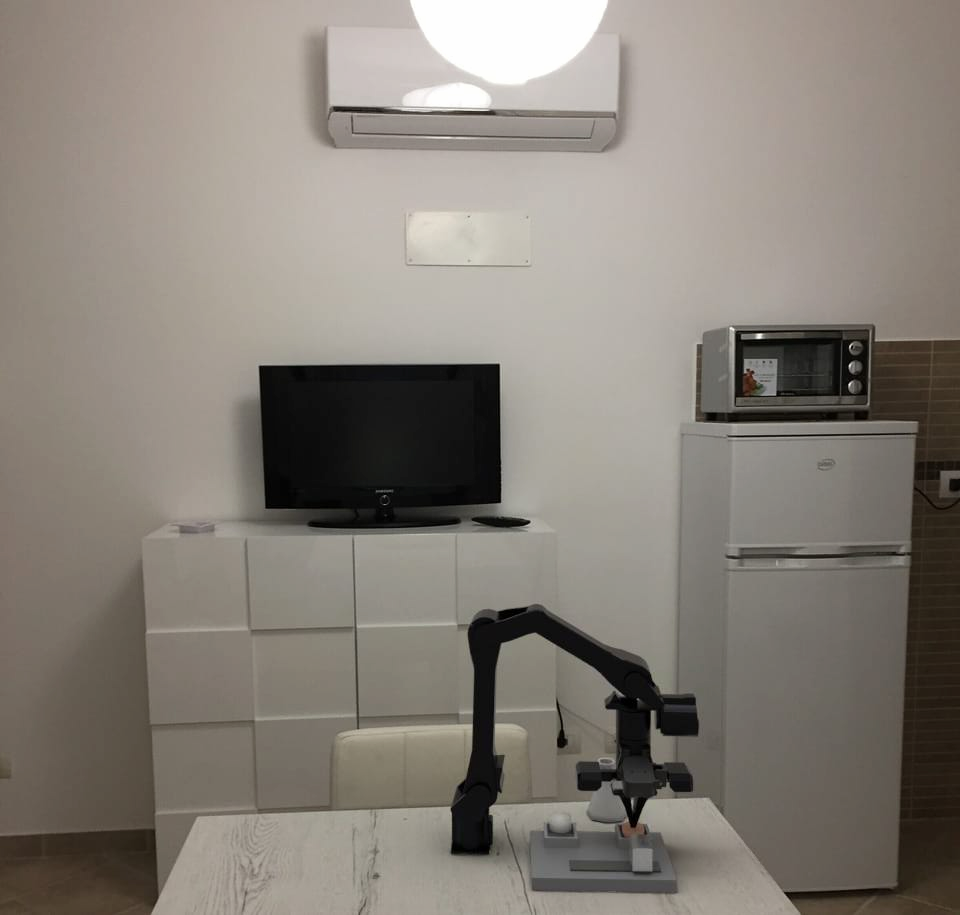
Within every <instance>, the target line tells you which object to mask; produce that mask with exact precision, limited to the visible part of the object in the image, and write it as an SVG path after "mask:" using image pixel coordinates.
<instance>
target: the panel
mask: <svg viewBox="0 0 960 915" xmlns="http://www.w3.org/2000/svg"><path fill="white" fill-rule="evenodd" d="M624 823H625V822H621V823H620V822H619V823H618V822H614V831H603V830H602V831H597V830H596V831H590V830H589V831H587V830H584V831H583V830H580V831H579V830H578V829H577V823H576V822H571V830H570V831H569V832H566V833H556V832H553V831H551V830H550V821H549V822H543V830H529V845H530V847H529V849H530V874H531V876H530V878H531V879H530V882H531V891H532V890H538V891H539V892H546V891H547V892H587V891H589V892H593V891H595V892H596V891H600V892H601V893H602V892H603V893H604V891H611V892H610V893H613V892H612V891H616V893H647V892H648V893H653V894H655V893H656V894H657V893H658V894H660V893H663V894H678V892H677V891H678V880H677V876H676V874H675V871H674V868H673V865H672V862H671V858H670V857H669V853H668V851H667V847H666V844H665V841H664V839H663V838H664V837H663V834H662V832H659V831H658V832H657V831H656V832H655V831H650V828H649V825H648V823H641V824H642V825H643V826H644V835H648V836H649V839H650V842H651V845H652V871H632V867H631V863H630V859H629V838H622V825H623V824H624ZM538 891H537V892H538ZM619 891H621V892H619ZM600 892H599V893H600Z"/></svg>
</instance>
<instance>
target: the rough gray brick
mask: <svg viewBox="0 0 960 915" xmlns="http://www.w3.org/2000/svg"><path fill="white" fill-rule="evenodd" d="M629 859H630V863H631V867H632V871H652V845H651V842H650V839H649V836H648V835H640V834H629Z"/></svg>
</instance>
